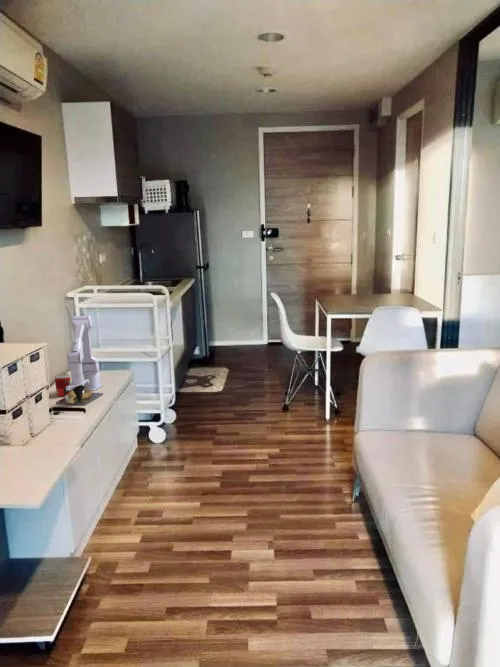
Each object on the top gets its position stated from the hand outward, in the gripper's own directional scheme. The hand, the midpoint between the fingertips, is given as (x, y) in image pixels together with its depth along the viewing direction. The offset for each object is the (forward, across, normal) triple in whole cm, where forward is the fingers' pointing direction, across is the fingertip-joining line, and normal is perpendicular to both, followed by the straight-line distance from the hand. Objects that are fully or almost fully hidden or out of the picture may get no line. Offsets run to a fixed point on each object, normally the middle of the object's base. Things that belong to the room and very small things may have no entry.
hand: (79, 399), depth 263 cm
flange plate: (+2, -6, -5) cm, 9 cm away
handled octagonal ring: (+1, -4, -4) cm, 6 cm away
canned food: (+2, -8, -20) cm, 21 cm away
